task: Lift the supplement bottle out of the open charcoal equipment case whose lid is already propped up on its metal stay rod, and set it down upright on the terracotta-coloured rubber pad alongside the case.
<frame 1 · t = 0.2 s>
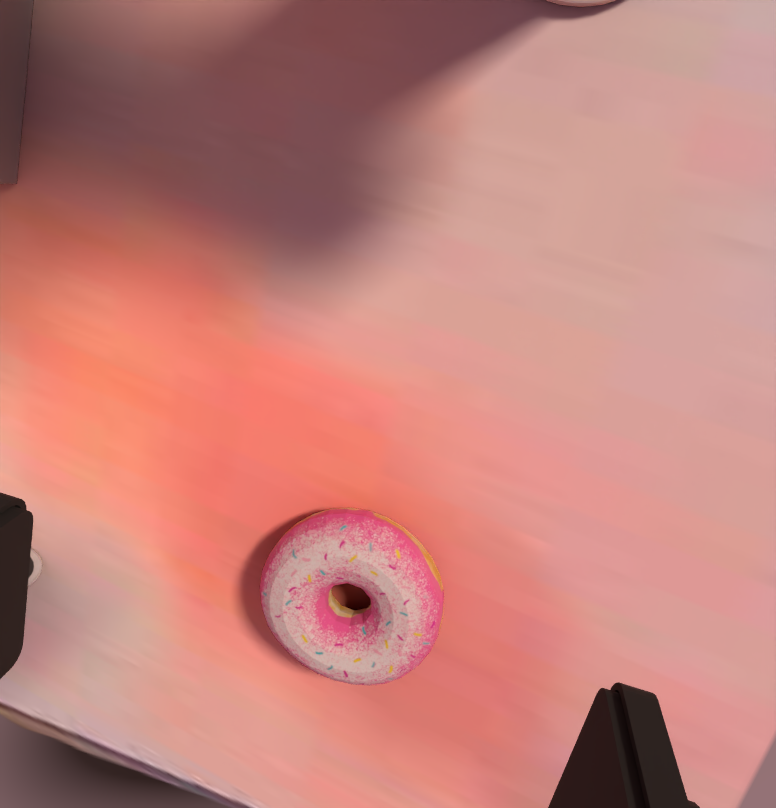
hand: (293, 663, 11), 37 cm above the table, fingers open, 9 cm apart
donut: (359, 576, 53), on the table
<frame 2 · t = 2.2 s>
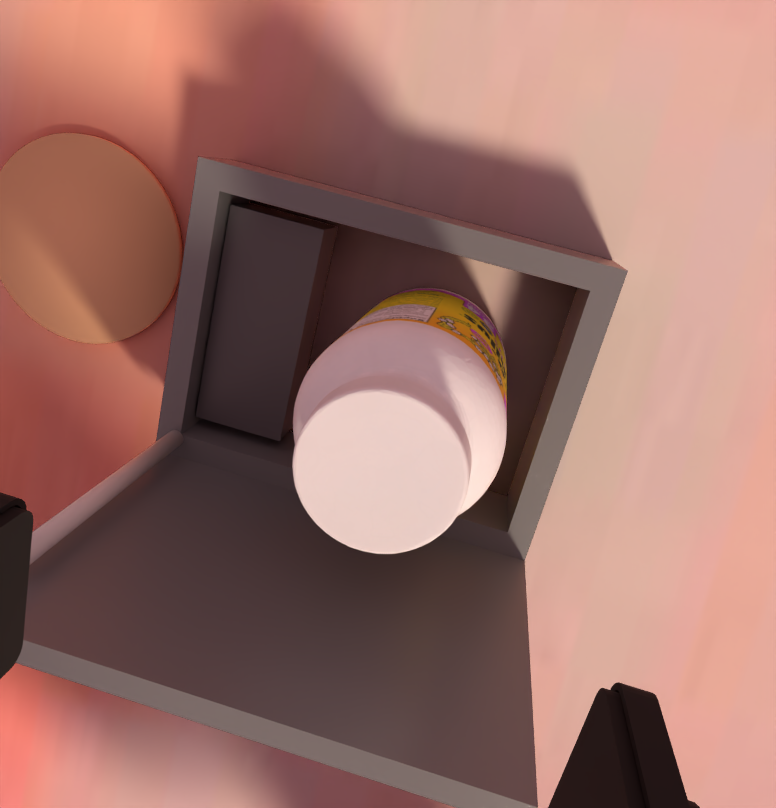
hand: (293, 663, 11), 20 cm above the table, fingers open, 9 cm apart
pad: (86, 242, 31), on the table
case: (384, 348, 30), on the table
supplement bottle: (429, 360, 31), resting in case
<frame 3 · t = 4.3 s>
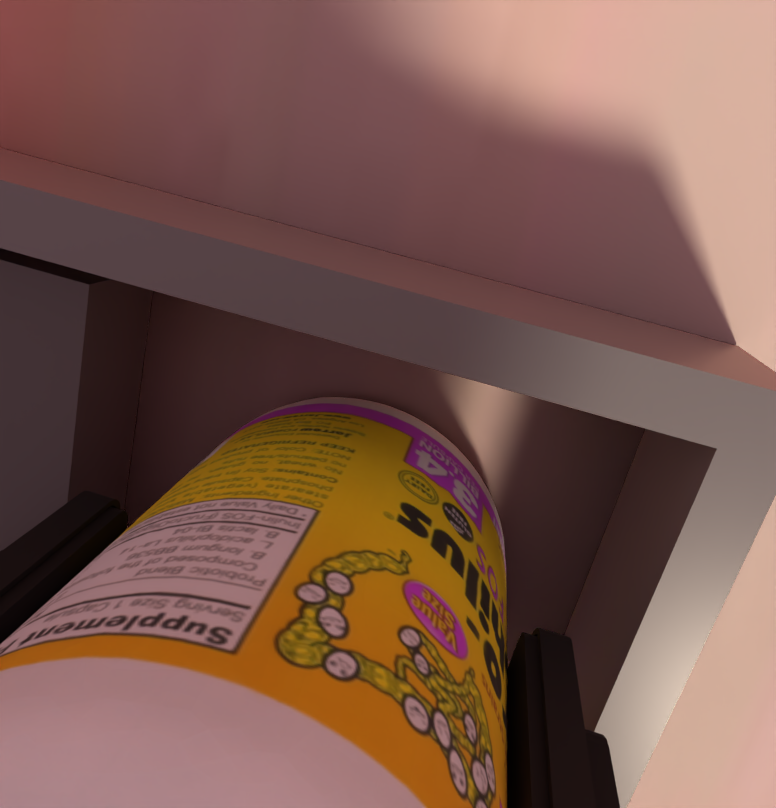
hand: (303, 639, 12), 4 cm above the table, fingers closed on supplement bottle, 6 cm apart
case: (262, 507, 15), on the table
supplement bottle: (352, 528, 15), resting in case, touching gripper
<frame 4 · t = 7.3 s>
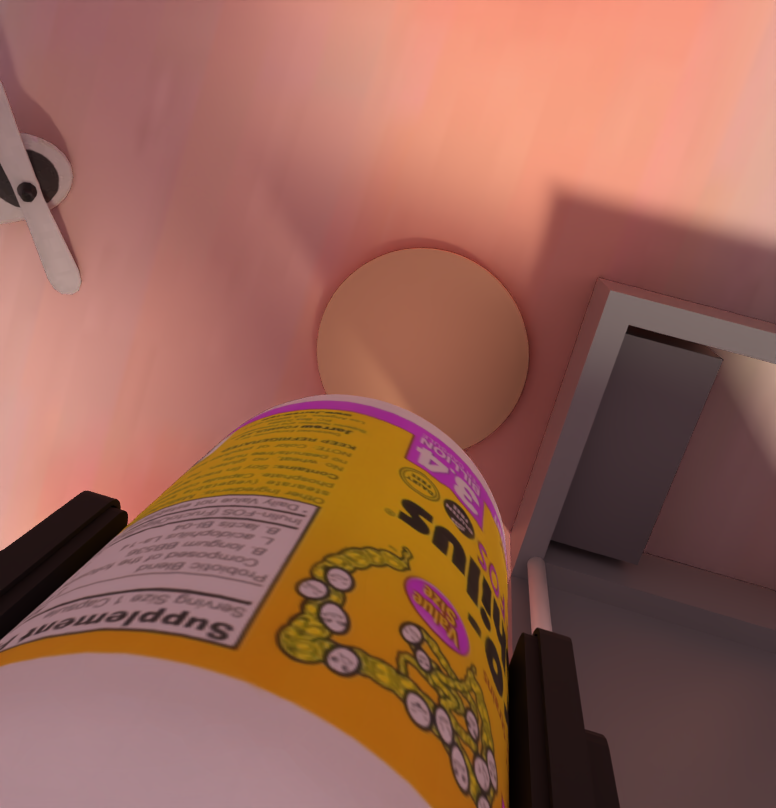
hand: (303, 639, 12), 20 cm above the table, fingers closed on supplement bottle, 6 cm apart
pad: (421, 355, 30), on the table
case: (738, 466, 29), on the table
supplement bottle: (352, 526, 15), point 16 cm above the table, touching gripper
when the fingers open (5 cm above the table, at t = 10.5 s): supplement bottle stays where it is, resting on pad.
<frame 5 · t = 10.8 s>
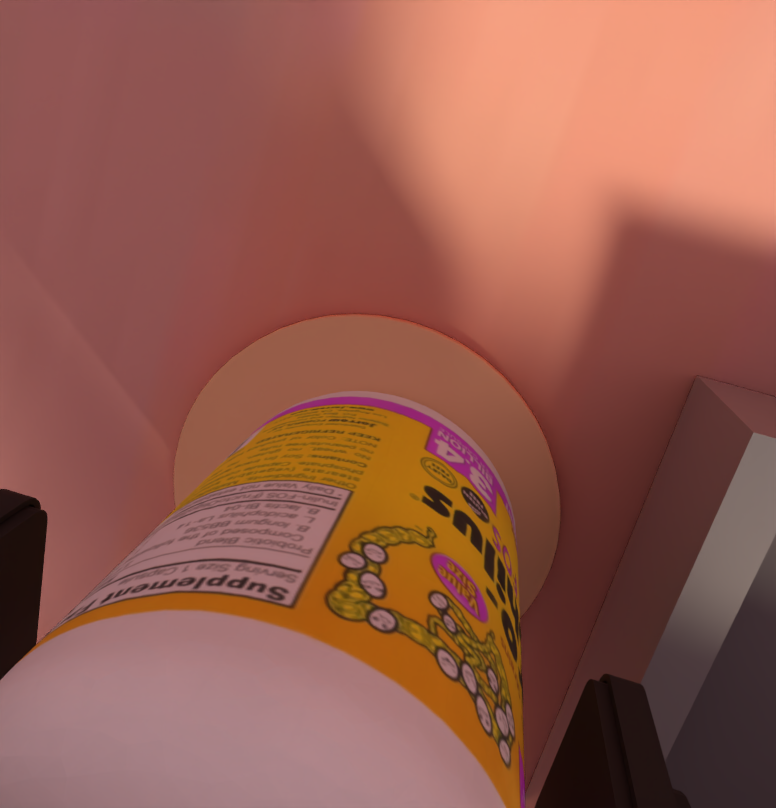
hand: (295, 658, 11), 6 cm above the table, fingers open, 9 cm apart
pad: (362, 503, 17), on the table
supplement bottle: (371, 515, 16), resting on pad
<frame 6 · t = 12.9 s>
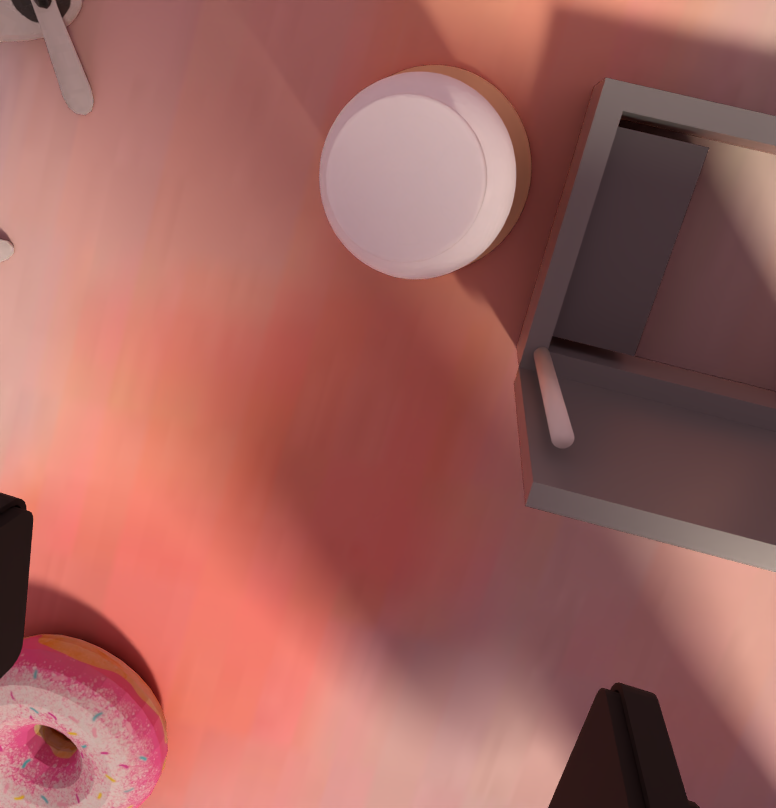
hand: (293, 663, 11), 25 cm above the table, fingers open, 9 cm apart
pad: (431, 173, 33), on the table
case: (724, 266, 32), on the table
donut: (85, 703, 47), on the table
supplement bottle: (436, 177, 32), resting on pad
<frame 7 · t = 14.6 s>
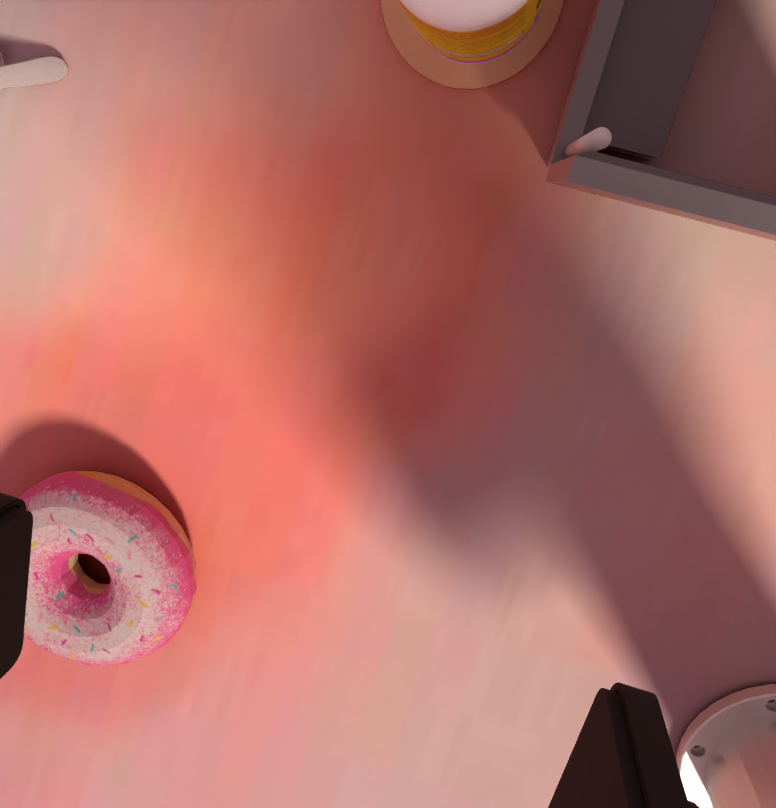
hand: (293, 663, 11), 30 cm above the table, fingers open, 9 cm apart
case: (747, 79, 34), on the table
donut: (116, 550, 48), on the table
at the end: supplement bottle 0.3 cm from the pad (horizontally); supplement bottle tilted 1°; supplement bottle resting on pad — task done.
